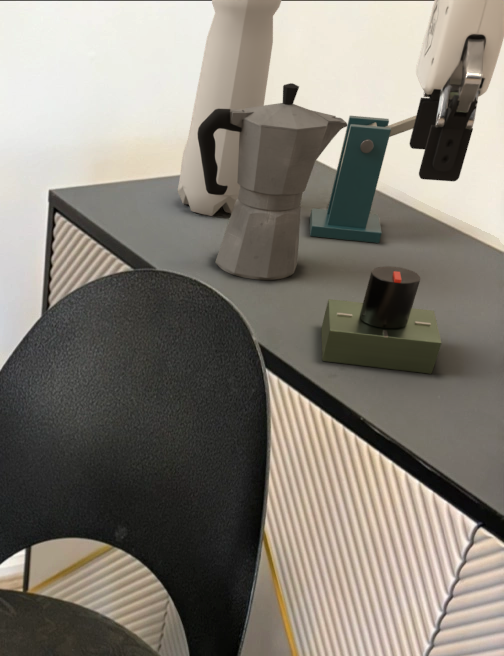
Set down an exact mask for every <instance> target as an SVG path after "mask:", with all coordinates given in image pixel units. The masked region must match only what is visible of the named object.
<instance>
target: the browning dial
mask: <svg viewBox="0 0 504 656" xmlns="http://www.w3.org/2000/svg"><path fill="white" fill-rule="evenodd" d="M420 282H421V276H420V274H419V273H417V272H415V271H413V270H411V269H408V268H405V267H401V266H389V265H388V266H387V265H385V266H377V267H374V268H373V269H372V270H371V271H370V275H369V279H368V282H367V285H366V286H367V287H366V290H365V294H364V298H363V301H362V303H363V305H362V309H361V312H360V319H361V320H362V321H364V322H365V323H367V324H369V325H372V326H376V327H380V328H390V329H392V328H401V327H404V326H405V325H406V324H407V323H408V319H409V316H410V313H411V309H412V308H413V307H414V302H415V299H416V296H417V293H418V289H419V286H420Z"/></svg>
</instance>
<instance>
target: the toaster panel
mask: <svg viewBox="0 0 504 656" xmlns="http://www.w3.org/2000/svg"><path fill="white" fill-rule="evenodd" d="M362 305H363V302H359V301H348V300H340V299H331V298H329V299H328V300H327V304H326V307H325V311H324V316H323V320H322V324H321V328H320V329H321V335H320V336H321V358H322V359H321V361H322V362H326V363H327V362H328V363H336V364H343V365H344V364H345V365H353V366H354V365H355V366H363V367H370V368H380V369H388V370H396V371H404V372H411V373H412V372H413V373H419V374H420V373H421V374H428V375H429V374H430V375H431V374H433V371H434V367H435V364H436V363H437V362H436V361H437V359H438V356H439V352H440V349H441V346H442V339H441V334H440V331H439V327H438V323H437V316H436V314H435V311H434V310H431V309H423V308H422V309H421V308H415V307H412V309H411V313H410V316H409V319H408V323H407V324H406V325H405V326H404V327H401V328H392V329H390V328H380V327H376V326H372V325H369V324H367V323H365V322H364V321H362V320H361V319H360V312H361V309H362Z"/></svg>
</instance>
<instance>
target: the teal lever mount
mask: <svg viewBox="0 0 504 656" xmlns="http://www.w3.org/2000/svg"><path fill="white" fill-rule="evenodd" d="M375 122H376V124H377V126H367V125H369V124H372V123H375ZM389 123H390V119H389V118H383V117H371V116H361V115H349V116H348V120H347V127H345V128H346V129H345V133H344V137H343V142H342V146H341V150H340V154H339V157H338V158H339V159H338V163H337V169H336V171H335V176H334V181H333V184H332V188H331V194H330V197H329V201H328V206H327V209H326V208H315V207H314V208H313V207H312V208H311V210H310V215H309V236H310V237H315V238H316V237H317V238H325V239H333V240H334V239H336V240H345V241H355V242H362V243H363V242H364V243H374V244H380V242H381V237H382V233H383V232H382V227H381V221H380V220H381V219H380V215H379V214H377V213H376V214H374V213H371V210H372V205H373V202H374V197H375V194H376V190H377V186H378V183H379V179H380V174H381V170H382V167H383V163H384V159H385V155H386V152H387V148H388V144H389V139H390V137H389V136H390V132H391V128H390V127H386V126H389V125H390V124H389Z"/></svg>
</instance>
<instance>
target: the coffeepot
mask: <svg viewBox="0 0 504 656" xmlns="http://www.w3.org/2000/svg"><path fill="white" fill-rule="evenodd" d="M299 88H300V85H298V84H296V83H293V82H292V83H291V82H290V83H286V84H283V86H282V102H277V103H271V104H264V106H257V107H250V108H245V110H244V109H215V110H214V111H213V112H212V113H211V114H210V115H209V116H208V117H207V118H206V119H205V120H204V121H203V122H202V123H201V125H200V126H199V128H198V133H197V134H198V142H199V147H200V153H201V160H202V166H203V172H204V180H205V186H206V191H207V192H208V193H209V194H213V195H224V194H225V192H226V191H227V188H228V186H223V185H219V184H217V181H216V178H217V171H218V166H217V163H216V160H215V147H216V145H215V139H214V132H215V131H216V130H217V129H226V130H230V131H236V132H240V134H239V157H238V180H237V183H238V184H239V185H240V189H239V194H238V199H237V200H236V202H235V205H234V208H233V211H232V214H231V213H230V217H229V220H228V223H227V226H226V229H225V232H224V236H223V238H222V241H221V244H220V246H219V250H218V253H217V256H216V259H215V264H216V265H217V266H218V267H219V268H220V270H222V271H224V272H226V273H228V274H231V275H233V276H235V277H236V276H237V277H240V278H245V279H250V280H260V281H261V280H262V281H269V280H270V281H272V280H280V279H281V280H282V279H286V278H288V277H290V276H292V275H294V273H295V272H296V268H297V265H298V259H299V246H300V245H299V242H300V227H301V212H302V211H301V209H302V207H301V206H300V205H301V203H302V197H303V193H304V192H305V191H306V188H307V186H308V183H309V180H310V177H311V174H312V172H313V169H314V167H315V163H316V161H317V160H318V158H319V157H320V156H321V154H322V153H323V152H324V150H325V149H326V148H327V147H328V145H330V143H331V141H332V140H333V139H335V137H336V136H337V134H338V133H339V132H341V131H342V129H345V128H347V124H348V122H347V121H345V120H344V119H343V118H341V117H337V116H336V115H333V114H329V113H324V112H320V111H316V110H311V109H309V108H307V107H304V106H301V105H298V104H295V103H294V102H295V99H296V97H297V94H298V91H299Z"/></svg>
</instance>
